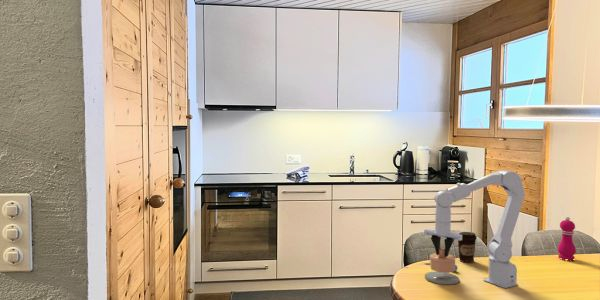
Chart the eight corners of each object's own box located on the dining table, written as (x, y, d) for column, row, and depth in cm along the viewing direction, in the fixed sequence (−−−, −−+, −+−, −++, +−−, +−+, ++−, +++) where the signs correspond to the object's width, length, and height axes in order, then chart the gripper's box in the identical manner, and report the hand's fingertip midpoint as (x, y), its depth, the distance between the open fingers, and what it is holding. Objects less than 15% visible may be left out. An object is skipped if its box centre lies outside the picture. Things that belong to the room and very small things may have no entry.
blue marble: (459, 271, 168) (459, 264, 168) (454, 272, 167) (454, 265, 167) (453, 269, 171) (453, 262, 171) (448, 270, 170) (448, 263, 169)
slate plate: (466, 281, 157) (466, 279, 157) (443, 287, 151) (443, 285, 151) (440, 271, 168) (440, 269, 168) (417, 276, 162) (417, 274, 162)
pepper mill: (575, 258, 188) (576, 216, 188) (576, 262, 182) (577, 219, 182) (557, 256, 192) (558, 214, 192) (557, 259, 186) (558, 217, 186)
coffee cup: (479, 264, 179) (480, 235, 178) (461, 264, 179) (461, 235, 179) (471, 258, 187) (472, 231, 187) (454, 258, 188) (454, 230, 187)
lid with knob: (460, 269, 158) (460, 249, 158) (444, 274, 153) (444, 254, 152) (440, 262, 166) (440, 243, 166) (424, 267, 161) (424, 248, 161)
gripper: (464, 222, 157) (464, 256, 158) (428, 217, 166) (428, 249, 167) (459, 225, 152) (458, 260, 152) (422, 220, 161) (421, 253, 161)
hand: (442, 255), depth 159 cm, fingers closed on lid with knob, 3 cm apart
